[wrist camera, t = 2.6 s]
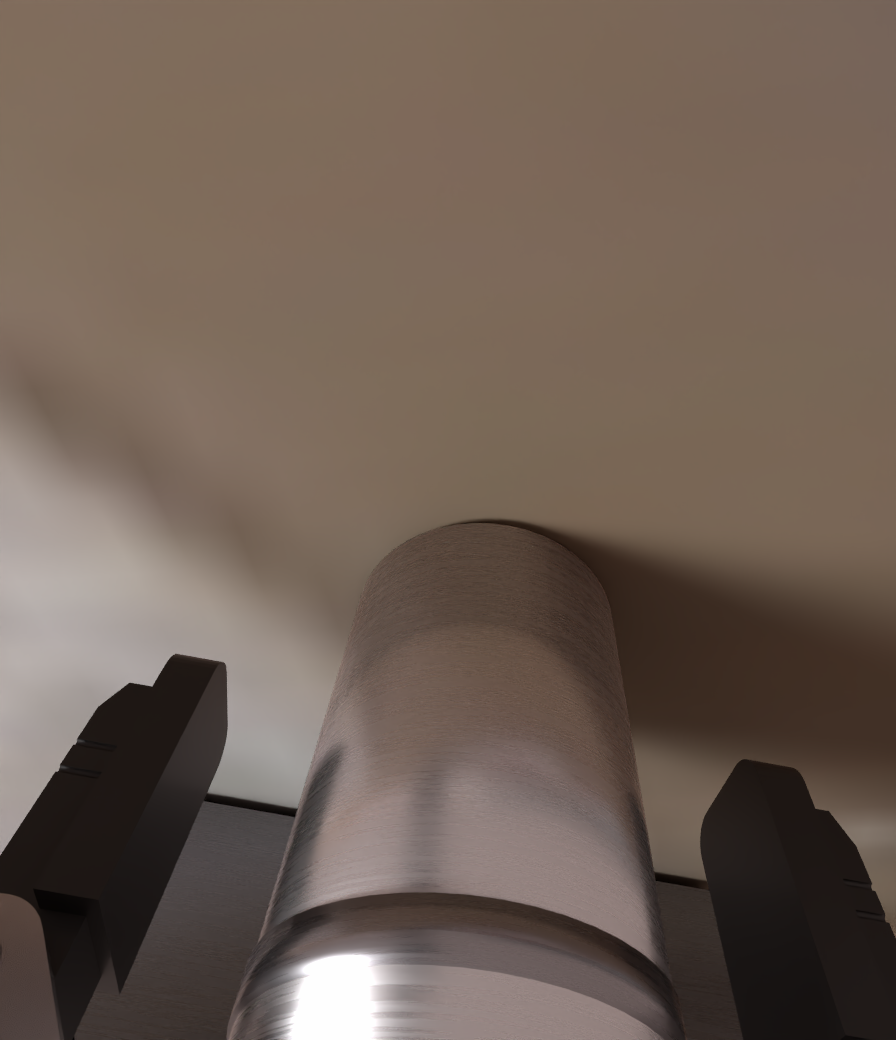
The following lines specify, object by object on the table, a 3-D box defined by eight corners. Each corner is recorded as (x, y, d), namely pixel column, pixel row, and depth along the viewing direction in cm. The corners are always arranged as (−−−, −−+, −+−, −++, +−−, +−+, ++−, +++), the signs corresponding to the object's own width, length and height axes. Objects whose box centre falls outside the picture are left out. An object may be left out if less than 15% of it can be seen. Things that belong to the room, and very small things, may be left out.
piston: (369, 497, 12) (166, 1080, 5) (650, 548, 12) (821, 1191, 5) (346, 693, 14) (194, 1242, 8) (576, 734, 14) (624, 1314, 8)
